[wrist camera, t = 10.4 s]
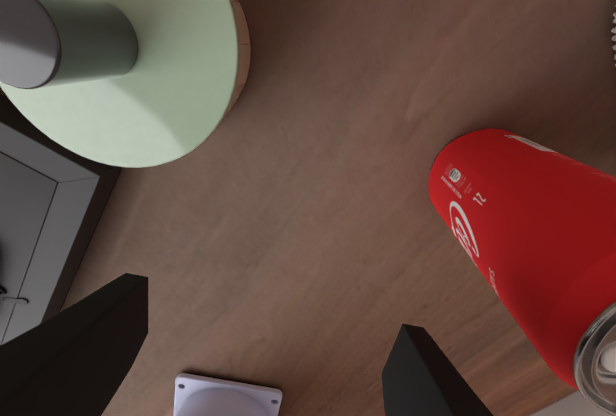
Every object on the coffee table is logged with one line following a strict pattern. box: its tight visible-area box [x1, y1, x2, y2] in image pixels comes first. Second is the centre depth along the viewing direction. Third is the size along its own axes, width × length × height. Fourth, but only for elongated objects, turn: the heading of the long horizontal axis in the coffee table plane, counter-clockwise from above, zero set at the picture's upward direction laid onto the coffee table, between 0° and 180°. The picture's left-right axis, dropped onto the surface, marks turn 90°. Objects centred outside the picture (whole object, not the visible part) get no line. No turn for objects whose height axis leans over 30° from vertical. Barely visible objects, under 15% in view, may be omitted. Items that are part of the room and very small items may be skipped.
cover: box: [0, 0, 241, 168], centre depth 10 cm, size 9×9×5 cm
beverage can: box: [429, 129, 616, 416], centre depth 13 cm, size 5×5×12 cm
